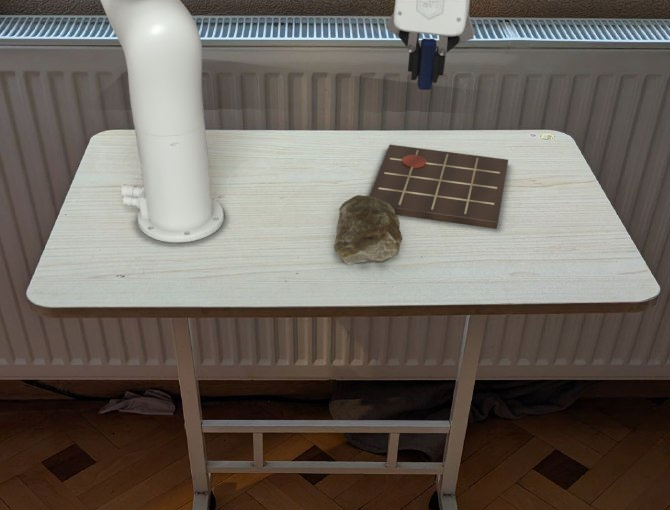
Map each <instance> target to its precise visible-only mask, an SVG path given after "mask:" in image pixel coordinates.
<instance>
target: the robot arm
mask: <svg viewBox="0 0 670 510" xmlns="http://www.w3.org/2000/svg"><path fill="white" fill-rule="evenodd" d="M99 1H100V3H101V5H102V8H103V10H104V13H105V15H106V17H107V19H108V22H109V24H110V26H111V28H112V30H113V32H114V34H115V36H116V38H117V40H118V42H119V44H120V46H121V48H122V50H123V54H124V58H125V63H126V70H127V81H128V93H129V101H130V108H131V116H132V123H133V127H134V133H135V134H134V135H135V139H136V145H137V147H136V148H137V153H138V159H139V167H140V173H141V180H142V187H141V186H137V185H131V184H126V183H124V184H122V185H121V190H120V194H121V197H122V205H124V206H129V207H137V209H139V211H138V213H137V224H138V227H139V230H141V232H142V233H144V234H145V235H146V236H148V237H149V238H151V239H154V240H157V241H160V242H165V243H177V244H179V243H189V242H194V241H195V242H196V241H198V240H199V241H200V240H202V239H205V238H207V237H209V236H210V235H213V234H214V233H215V232H217V231H218V230H219V229H220V227H221V226H222V225H223V224H224V220H225V217H224V216H225V215H224V213H225V212H224V209H223V206H222V204H221V203H219V202H218V201H217V200H216V199H214V198H213V197H212V187H211V177H210V165H209V155H208V154H209V153H208V143H207V132H206V120H205V119H206V118H205V111H204V100H203V99H204V98H203V44H202V39H201V35H200V32H199V28H198V26H197V23H196V21H195V19H194V18H193V15H192V14H191V12H190V11H189V10H188V8H187V7H186V6H185V4H184V3H183V2H182V0H99ZM470 1H471V0H395V1H394V9H393V12H392V14H391V15H390V16H389V17H390V18H389V19H388V21H387V23H386V25H385V29H386V30H387V31H389V32H390V33H392V34H393V35H395V36H396V37H398V38H399V39H400V40H401V42H402V43H403V44H404V45H405V47H406V49H407V51H408V52H409V53H408V64H407V72H409V73H411V74H410V75H411V77H410V80H411V81H416V80H418V70H419V62H420V49H421V42H420V36H421V35H420V34H422V35H423V34H424V35H432V36H433V35H434V36H439V37H438V45H437V47H436V54H435V56H434V64H433V73H432V81H433V82H432V84H433V83H434V84H437V83H438V79H439V77H440V76H442V77H443V76H444V71H445V66H446V55H447V53H448V52H450V51H451V50H452V49H454V48H455V47H456V46H457V45H458V44H461V43H465V42H467V41H470V40H472V39H474V36H475V29H474V25H473V22H472V19H471V16H470V13H469V11H470Z"/></svg>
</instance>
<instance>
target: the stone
mask: <svg viewBox="0 0 670 510" xmlns="http://www.w3.org/2000/svg"><path fill="white" fill-rule="evenodd" d="M338 211H339V212H338V215H339V216H338V220H337V225H336V232H335V233H336V235H335V239H334V245H333V250H334V251H335V253H336V254H337V255H338V256H339V258H340V259H341V261H342V262H343V263H345V264H346V265H348V266H349V265H352V264H356V265H357V264H358V265H359V264H360V265H361V264H367V263H384V262H386V261H387V260H388V259H391V258H392V257H395V256H397V255H399V254H400V249H401V243H402V241H403V236H402V232H401V229H400V227H401V226H400V225H401V224H400V223H401V222H400V219H399V217H398V215H396V214H395V211H394V209H393V208H392V207H391V206H390V204H389V203H387V202H385V201H381V200H379V199H377V198H375V197H371V196H369V195H361V194H357V195H354V196H353V197H352V196H351V198H349V199H347V200H346V201H344V202H343V203H342V204H341V206H339V208H338Z"/></svg>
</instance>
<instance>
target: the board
mask: <svg viewBox="0 0 670 510" xmlns="http://www.w3.org/2000/svg"><path fill="white" fill-rule="evenodd" d="M508 164H509V159H506V158H498V157H491V156H484V155H483V156H482V155H475V154H468V153H459V152H453V151H443V150H436V149H429V148H422V147H421V148H420V147H412V146H406V145H405V146H404V145H397V144H389V145H388V147H387V150H386V153H385V155H384V157H383V160H382V163H381V165H380V166H379V167H380V168H379V170H378V172H377V175H376V178H375V180H374V183H373V185H372V188H371V190H370V193H369V195H368V196H371V197H375V198H377V199H379V200H381V201H385V202H387V203H389V204H390V206H391V207H392V208H393V209H394V211H395V214H396V215H397V216H404V217H409V218H416V219H417V218H418V219H423V220H425V219H426V220H431V221H438V222H446V223H452V224H459V225H460V224H461V225H467V226H473V227H481V228H488V229H495V230H496V229H498V224H499V219H500V218H499V217H500V212H501V208H502V207H501V206H502V200H503V194H504V187H505V182H506V176H507V172H508V171H507V170H508Z"/></svg>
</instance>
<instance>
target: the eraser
mask: <svg viewBox="0 0 670 510" xmlns="http://www.w3.org/2000/svg"><path fill="white" fill-rule="evenodd" d="M437 47H438V45H437V40H436V39H435V38H422V39H421V41H420V48H421V49H420V62H419V70H418V76H417V88H418V89H419V90H421V91H426V90H427V91H430V90H432V88H433V81H432V73H433V64H434V56H435V54H436V51H437Z"/></svg>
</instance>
